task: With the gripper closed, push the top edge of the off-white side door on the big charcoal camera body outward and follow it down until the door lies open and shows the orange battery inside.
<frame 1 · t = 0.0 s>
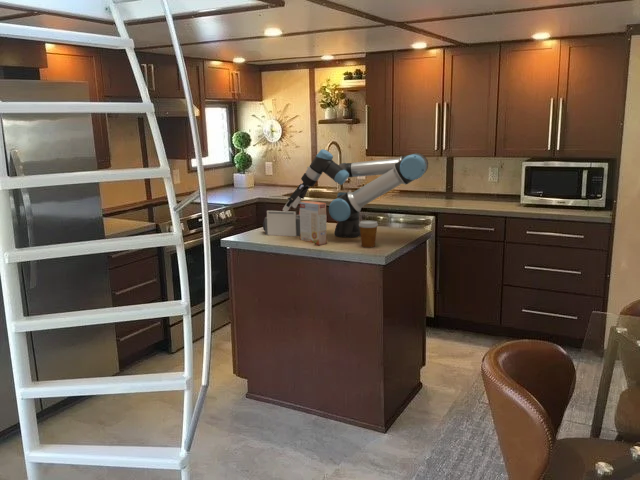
hand: (288, 209, 307), 15 cm above the table, tool tilted 35°, fingers open, 13 cm apart
side door: (281, 223, 309), point 8 cm above the table, hinge at 0.0°
camera body: (285, 235, 317), on the table
teapot: (312, 228, 336), on the table
disposable coffee cup: (368, 246, 288), on the table
cracker box: (313, 243, 297), on the table
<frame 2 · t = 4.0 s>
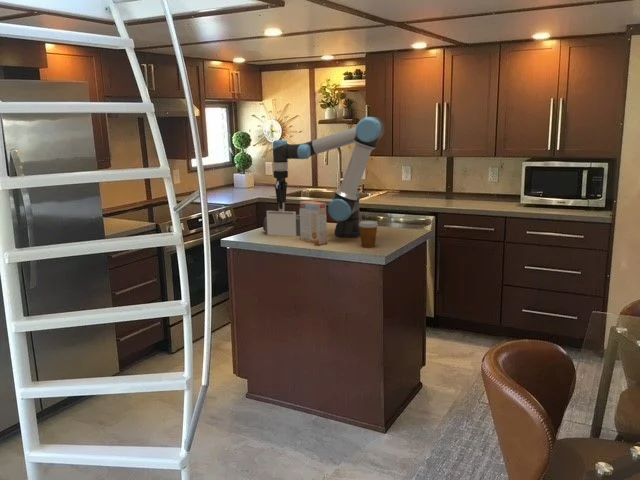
hand: (281, 214, 310), 12 cm above the table, tool pointing down, fingers closed
side door: (281, 223, 309), point 7 cm above the table, hinge at 1.0°, touching gripper
everything else where it was.
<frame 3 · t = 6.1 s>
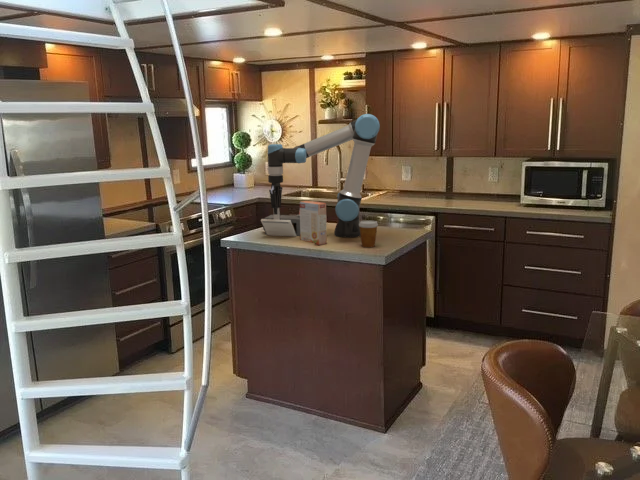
hand: (276, 220, 303), 10 cm above the table, tool pointing down, fingers closed
side door: (278, 228, 306), point 6 cm above the table, hinge at 41.8°, touching gripper
everything else where it was.
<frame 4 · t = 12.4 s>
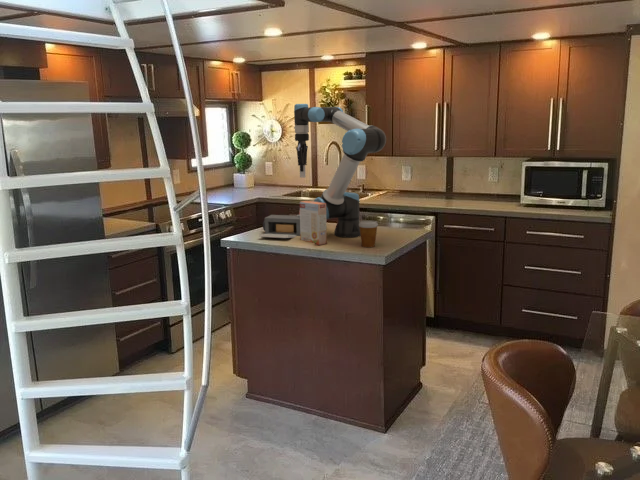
hand: (302, 177, 317), 30 cm above the table, tool pointing down, fingers closed
side door: (277, 235, 305), point 2 cm above the table, hinge at 79.7°
everything else where it was.
at the end: side door at +80° (first picture: +0°); cracker box moved 0.2 cm from its start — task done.
